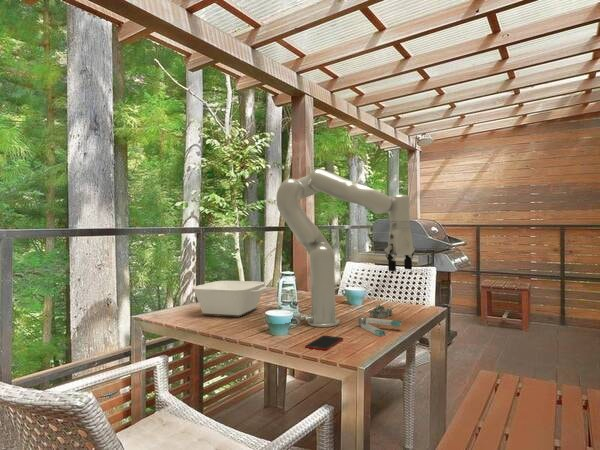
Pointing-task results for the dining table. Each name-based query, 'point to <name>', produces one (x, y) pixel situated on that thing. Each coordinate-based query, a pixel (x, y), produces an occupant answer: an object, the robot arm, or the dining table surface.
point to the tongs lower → (370, 327)
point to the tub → (229, 297)
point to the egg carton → (380, 312)
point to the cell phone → (324, 343)
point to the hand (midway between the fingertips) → (400, 270)
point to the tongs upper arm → (384, 322)
